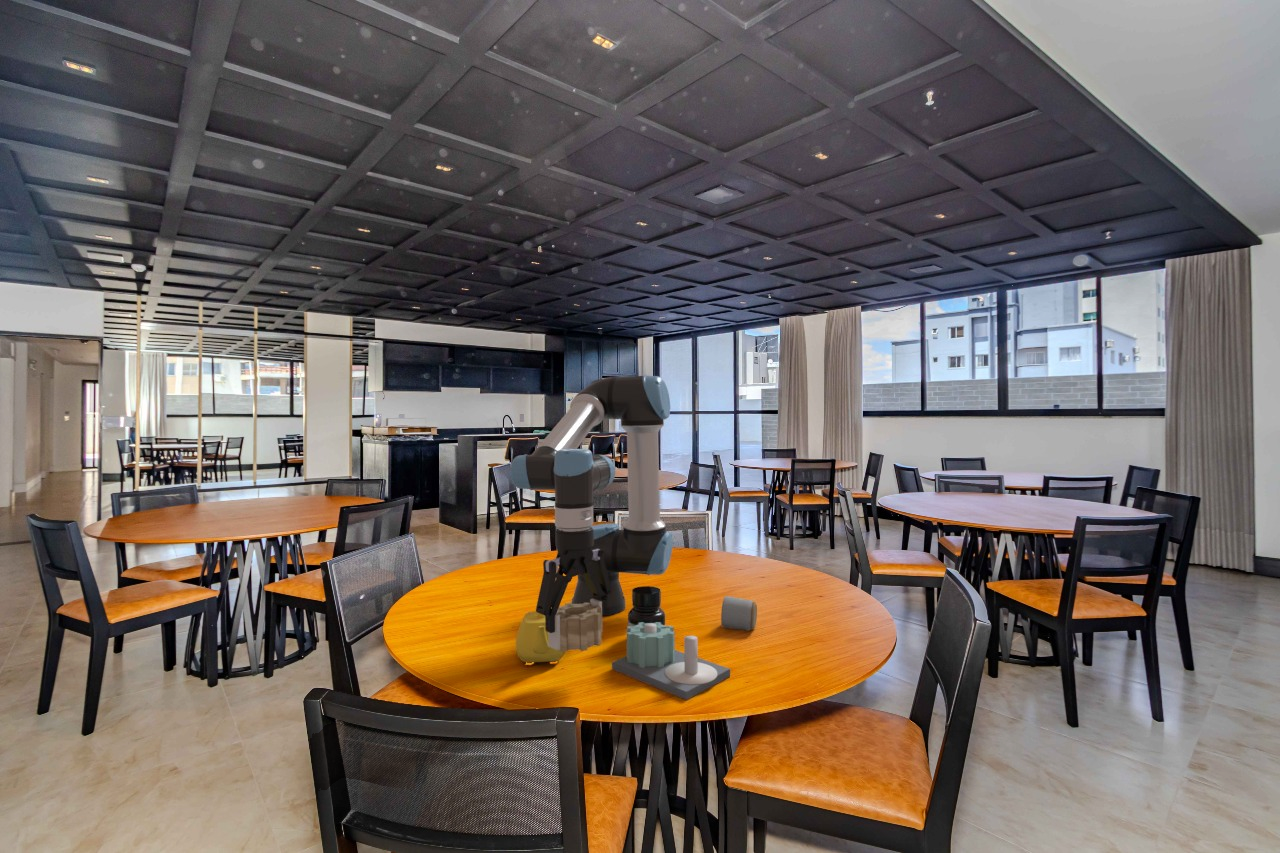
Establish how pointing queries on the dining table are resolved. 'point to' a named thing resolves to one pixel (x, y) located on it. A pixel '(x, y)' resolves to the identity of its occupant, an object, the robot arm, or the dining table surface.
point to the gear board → (664, 681)
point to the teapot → (535, 640)
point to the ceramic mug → (738, 613)
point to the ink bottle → (646, 606)
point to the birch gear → (579, 626)
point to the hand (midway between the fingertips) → (576, 639)
